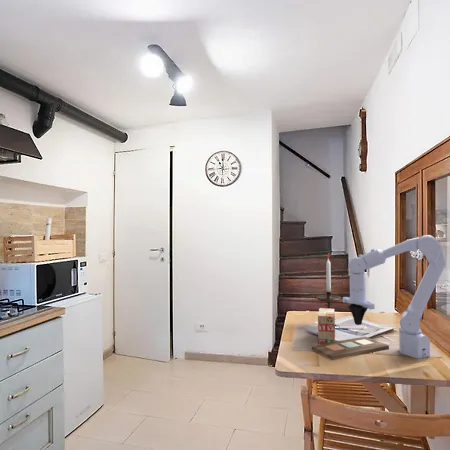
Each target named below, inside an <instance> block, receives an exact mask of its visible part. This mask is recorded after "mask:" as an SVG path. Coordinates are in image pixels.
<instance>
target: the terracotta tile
mask: <svg viewBox="0 0 450 450" xmlns="http://www.w3.org/2000/svg"><path fill="white" fill-rule="evenodd" d="M325 348H326V349H328V350H331V351H333V352H337V351H342V350H345V348H343V347H341V346H339V345H336V344H335V345H329V346H325Z"/></svg>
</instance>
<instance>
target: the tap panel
mask: <svg viewBox="0 0 450 450" xmlns="http://www.w3.org/2000/svg"><path fill="white" fill-rule="evenodd" d="M362 339H366V340H368V341H371V342H373V343H374V345H369V346H362V345H360V344H357V343H355V341H357V340H362ZM346 342H353V343H355V344H357V345H360V347H358V348H353V349H348V348H346V347H343V346H341V345H340V343H346ZM335 344H336V345H339V346H341V347H343V348H345V350H342V351H337V352H333V351H331V350H328V349H326V348H325V346H329V345H335ZM389 349H390V346H389V345H388V344H387V343H384V342H381V341H378V340H375V339H373V338H370V337H367V336H359V337H354V338H348V339H343V340H338V341H337V340H335V342H330V343H324V344H314V345H311V350H312V351H314V352H317V353H318V354H320V355H322V356H324V357H326V358H328V359H330V360H332V361H333V360H334V361H335V360H339V359H344V358H350V357H354V356H359V355H364V354H369V353H374V352H380V351H385V350H389Z"/></svg>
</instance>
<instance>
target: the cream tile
mask: <svg viewBox="0 0 450 450" xmlns="http://www.w3.org/2000/svg"><path fill="white" fill-rule="evenodd" d="M355 343H357V344H360V345H362V346H369V345H374V343H373V342H371V341H368V340H366V339H362V340H357V341H355Z"/></svg>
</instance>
